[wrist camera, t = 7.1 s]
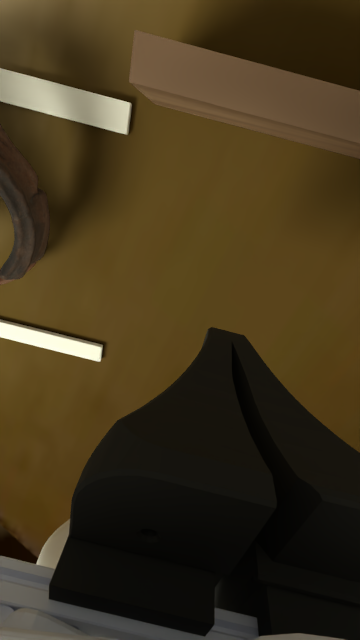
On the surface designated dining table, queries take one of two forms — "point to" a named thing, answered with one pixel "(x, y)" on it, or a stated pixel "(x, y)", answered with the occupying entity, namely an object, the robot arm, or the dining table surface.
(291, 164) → the dining table surface
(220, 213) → the dining table surface
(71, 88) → the bay outline
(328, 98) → the walnut screen
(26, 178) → the brown curved piece
